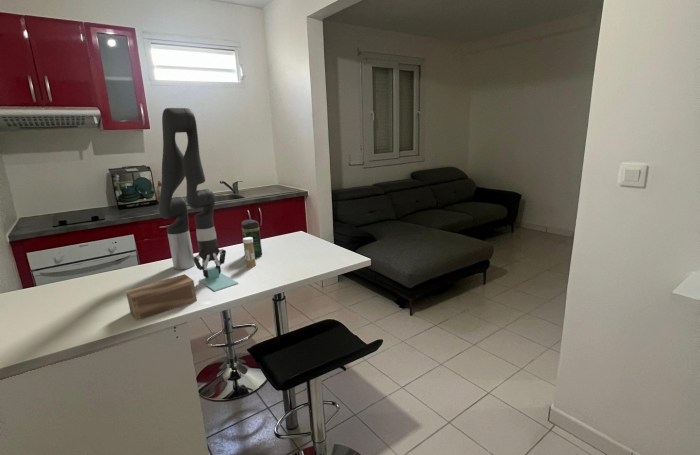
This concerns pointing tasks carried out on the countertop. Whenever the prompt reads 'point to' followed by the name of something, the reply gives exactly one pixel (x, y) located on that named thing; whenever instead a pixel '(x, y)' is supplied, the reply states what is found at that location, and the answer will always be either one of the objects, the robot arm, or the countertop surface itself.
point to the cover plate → (217, 280)
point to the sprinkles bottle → (249, 251)
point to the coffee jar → (252, 235)
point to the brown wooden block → (161, 296)
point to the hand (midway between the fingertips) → (212, 275)
